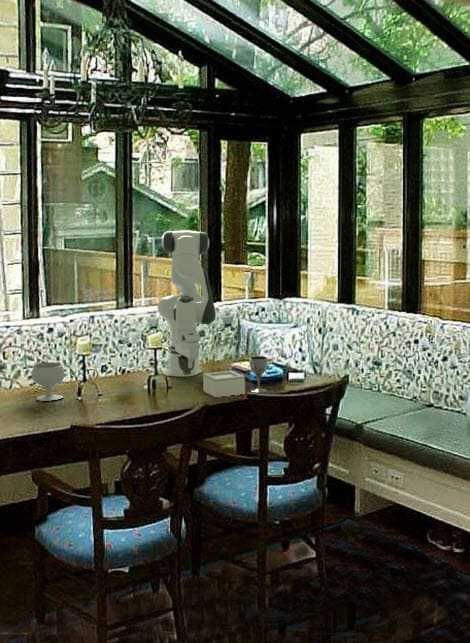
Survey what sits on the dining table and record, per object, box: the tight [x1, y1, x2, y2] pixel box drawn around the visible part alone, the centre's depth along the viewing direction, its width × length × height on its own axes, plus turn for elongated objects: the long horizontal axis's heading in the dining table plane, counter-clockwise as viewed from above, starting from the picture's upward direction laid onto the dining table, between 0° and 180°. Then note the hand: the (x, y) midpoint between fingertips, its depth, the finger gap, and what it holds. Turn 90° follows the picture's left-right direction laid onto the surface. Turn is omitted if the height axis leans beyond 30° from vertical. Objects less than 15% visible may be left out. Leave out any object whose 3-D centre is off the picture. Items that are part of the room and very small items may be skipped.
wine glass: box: [249, 355, 268, 394], centre depth 393 cm, size 8×8×15 cm
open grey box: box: [202, 370, 246, 398], centre depth 391 cm, size 14×14×8 cm
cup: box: [178, 355, 195, 375], centre depth 386 cm, size 8×7×8 cm
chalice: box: [31, 362, 66, 402], centre depth 384 cm, size 14×14×15 cm
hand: (186, 365), depth 386 cm, fingers closed on cup, 6 cm apart
